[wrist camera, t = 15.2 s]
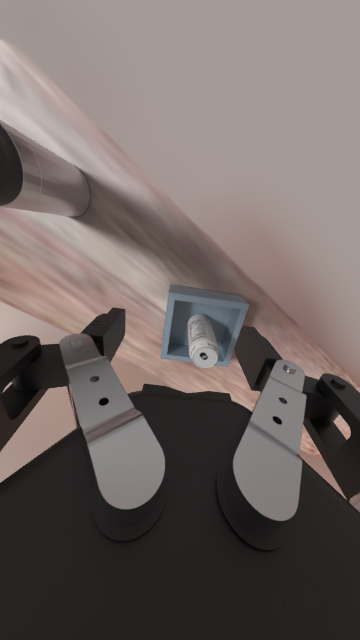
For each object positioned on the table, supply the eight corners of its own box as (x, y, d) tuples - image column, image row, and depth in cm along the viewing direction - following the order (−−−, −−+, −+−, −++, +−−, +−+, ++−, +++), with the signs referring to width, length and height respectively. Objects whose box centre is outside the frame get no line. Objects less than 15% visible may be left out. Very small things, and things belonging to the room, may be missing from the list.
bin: (162, 344, 52) (160, 358, 46) (170, 284, 44) (168, 292, 39) (223, 352, 53) (228, 367, 47) (240, 294, 45) (249, 304, 40)
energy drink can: (195, 336, 50) (200, 374, 36) (183, 320, 48) (183, 354, 34) (214, 325, 48) (226, 361, 35) (202, 308, 46) (210, 339, 33)
